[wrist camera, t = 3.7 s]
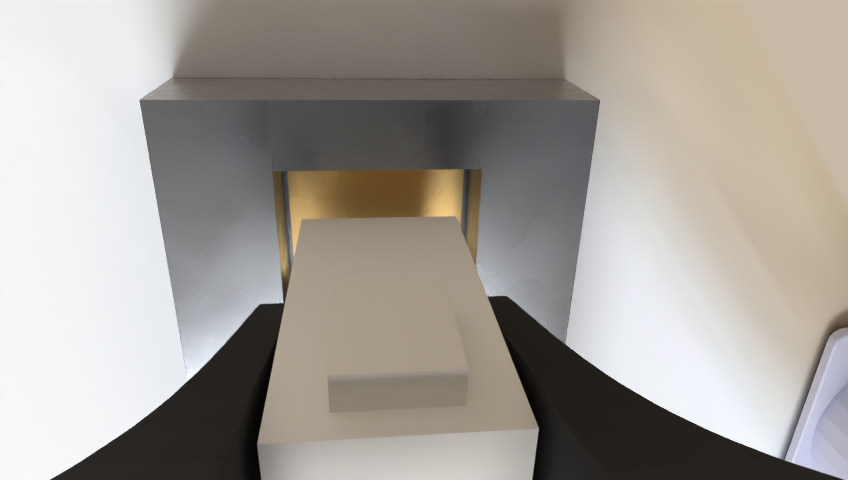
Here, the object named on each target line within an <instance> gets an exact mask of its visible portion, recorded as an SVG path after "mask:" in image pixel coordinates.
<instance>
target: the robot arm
mask: <svg viewBox="0 0 848 480" xmlns="http://www.w3.org/2000/svg"><path fill="white" fill-rule="evenodd" d="M487 297H488V300H489V302H490V305H491V307H492V310H493V312H494V315H495V317H496V320H497V323H498V325H499V328H500V330H501V333H502V335H503V338H504V340H505V343H506V346H507V348H508V351H509V353H510V356H511V358H512V361H513V363H514V366H515V369H516V371H517V374H518V376H519V379H520V381H521V384H522V386H523V389H524V392H525V394H526V397H527V399H528V402H529V404H530V407H531V410H532V412H533V415H534V417H535V420H536V422H537V425H538V427H539V432H538V439H537V447H536V455H535V462H534V470H533V478H532V480H848V328H842V329H839V330H837V331H835V332H834V333H832V334H831V335H830V337H829V339H828V341H827V343H826V346H825V349H824V352H823V355H822V357H821V360H820V363H819V366H818V369H817V371H816V374H815V377H814V380H813V383H812V385H811V388H810V391H809V394H808V396H807V399H806V402H805V405H804V408H803V410H802V413H801V416H800V419H799V422H798V424H797V427H796V430H795V433H794V436H793V438H792V441H791V444H790V447H789V449H788V452H787V455H786V458H785V460H782V459H779V458H776V457H773V456H770V455H768V454H765V453H763V452H760V451H758V450H755V449H753V448H750V447H747V446H745V445H742V444H740V443H737V442H735V441H732V440H730V439H727V438H725V437H723V436H720V435H718V434H716V433H713V432H711V431H709V430H707V429H704V428H702V427H700V426H698V425H696V424H694V423H692V422H690V421H688V420H686V419H684V418H682V417H680V416H678V415H675V414H673V413H671V412H669V411H668V410H666V409H664V408H662V407H660V406H658V405H656V404H654V403H653V402H651V401H649V400H647V399H646V398H644V397H642V396H641V395H639V394H637V393H635V392H634V391H632V390H630V389H629V388H627V387H625V386H624V385H622V384H620V383H619V382H617V381H616V380H614V379H613V378H611V377H609V376H608V375H606V374H605V373H604V372H602V371H601V370H599V369H598V368H596V367H595V366H594V365H592V364H591V363H589V362H588V361H587V360H585V359H584V358H582V357H581V356H580V355H578V354H577V353H576V352H574V351H573V350H572V349H570V348H569V347H568V346H567V345H565V344H564V343H563V342H562V341H560V340H559V339H558V338H557V337H555V336H554V335H553V334H552V333H550V332H549V331H548V330H547V329H546V328H544V327H543V326H542V325H541V324H540V323H539V322H537V321H536V320H535V319H534V318H533V317H532V316H530V315H529V314H528V313H527V312H526V311H525V310H523V309H522V308H521V307H520V306H519V305H518V304H516V303H515V302H514V301H513V300H512V299H510V298H509V297H508V296H487ZM284 305H285V303H271V304H260V305H259V306H258V307H257V308H255V309H254V311H253V312H252V313H251V314H250V315H249V316H248V318H247V319H246V320H245V321H244V322H243V323H242V325H241V326H240V327H239V328H238V329H237V330H236V331H235V333H234V334H233V335H232V336H231V337H230V338H229V339H228V340H227V342H226V343H225V344H224V345H223V346H222V347H221V348H220V349H219V350H218V351H217V352H216V353H215V354H214V355H213V357H212V358H211V359H210V360H209V361H208V362H207V363H206V364H205V365H204V366H203V367H202V368H201V369H200V370H199V371H198V372H197V373H196V374H195V375H194V376H193V377H192V378H190V379H189V380H188V381H187V382H186V383H185V384H184V385H183V386H182V387H181V388H180V389H179V390H178V391H177V392H176V393H175V394H173V395H172V396H171V397H170V398H169V399H168V400H166V401H165V402H164V403H163V404H162V405H160V406H159V407H158V408H157V409H155V410H154V411H153V412H152V413H150V414H149V415H148V416H146V417H145V418H144V419H142V420H141V421H140V422H139V423H137V424H136V425H135V426H133V427H132V428H130V429H129V430H128V431H126V432H125V433H123V434H122V435H120V436H119V437H117V438H116V439H114V440H113V441H111V442H110V443H108V444H107V445H105V446H104V447H102V448H101V449H99V450H98V451H96V452H95V453H93V454H92V455H90V456H89V457H87V458H86V459H84V460H83V461H81V462H79V463H78V464H76V465H75V466H73V467H71V468H70V469H68V470H66V471H64V472H63V473H61V474H59V475H58V476H56V477H54V478H52V479H51V480H261V473H260V465H259V456H258V448H257V442H258V437H259V432H260V427H261V422H262V417H263V412H264V407H265V402H266V397H267V392H268V386H269V381H270V376H271V371H272V366H273V361H274V356H275V351H276V346H277V341H278V336H279V331H280V326H281V321H282V316H283V311H284Z"/></svg>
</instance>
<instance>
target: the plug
mask: <svg viewBox="0 0 848 480" xmlns="http://www.w3.org/2000/svg"><path fill="white" fill-rule="evenodd" d="M538 432H539V427H538V425H537V422H536V420H535V417H534V415H533V412H532V410H531V407H530V404H529V402H528V399H527V397H526V394H525V392H524V389H523V386H522V384H521V381H520V379H519V376H518V374H517V371H516V369H515V366H514V363H513V361H512V358H511V356H510V353H509V351H508V348H507V346H506V343H505V340H504V338H503V335H502V333H501V330H500V328H499V325H498V323H497V320H496V317H495V315H494V312H493V310H492V307H491V305H490V302H489V300H488V297H487V294H486V292H485V289H484V287H483V284H482V282H481V279H480V276H479V274H478V271H477V269H476V266H475V264H474V261H473V259H472V256H471V253H470V251H469V248H468V246H467V243H466V241H465V238H464V236H463V233H462V230H461V228H460V225H459V223H458V220H457V218H456V216H443V217H391V218H339V219H301V224H300V230H299V235H298V240H297V245H296V250H295V255H294V260H293V265H292V270H291V275H290V280H289V285H288V290H287V295H286V300H285V305H284V311H283V316H282V321H281V326H280V331H279V336H278V341H277V346H276V351H275V356H274V361H273V366H272V371H271V376H270V381H269V386H268V392H267V397H266V402H265V407H264V412H263V417H262V422H261V427H260V432H259V437H258V442H257V448H258V456H259V465H260V473H261V480H532V478H533V470H534V462H535V455H536V447H537V439H538Z"/></svg>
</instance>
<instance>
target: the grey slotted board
mask: <svg viewBox="0 0 848 480" xmlns="http://www.w3.org/2000/svg"><path fill="white" fill-rule="evenodd" d="M599 104H600V100H599V99H597V98H595V97H594V96H592V95H590V94H589V93H587V92H585V91H583V90H582V89H580V88H578V87H577V86H575V85H573V84H572V83H570V82H568V81H567V80H477V79H253V78H171V79H170V80H168V81H167V82H165V83H164V84H162V85H161V86H159V87H158V88H156V89H155V90H153V91H152V92H150V93H149V94H147V95H146V96H145V97H143V98H142V99H140V105H141V111H142V117H143V123H144V129H145V135H146V140H147V146H148V152H149V158H150V164H151V169H152V175H153V181H154V187H155V193H156V199H157V204H158V210H159V216H160V222H161V228H162V233H163V239H164V245H165V251H166V257H167V262H168V268H169V274H170V280H171V286H172V292H173V297H174V303H175V309H176V315H177V321H178V326H179V332H180V338H181V344H182V350H183V356H184V361H185V367H186V373H187V379H188V380H189V379H190V378H192V377H193V376H194V375H195V374H196V373H197V372H198V371H199V370H200V369H201V368H202V367H203V366H204V365H205V364H206V363H207V362H208V361H209V360H210V359H211V358H212V357H213V355H214V354H215V353H216V352H217V351H218V350H219V349H220V348H221V347H222V346H223V345H224V344H225V343H226V342H227V340H228V339H229V338H230V337H231V336H232V335H233V334H234V333H235V331H236V330H237V329H238V328H239V327H240V326H241V325H242V323H243V322H244V321H245V320H246V319H247V318H248V316H249V315H250V314H251V313H252V312H253V311H254V309H255V308H257V307H258V306H259V305H260V304H271V303H285V300H286V295H287V290H288V285H289V280H290V275H291V270H292V265H293V260H294V255H295V250H296V245H297V240H298V235H299V230H300V224H301V219H339V218H391V217H443V216H456V218H457V220H458V223H459V225H460V228H461V230H462V233H463V236H464V238H465V241H466V243H467V246H468V248H469V251H470V253H471V256H472V259H473V261H474V264H475V266H476V269H477V271H478V274H479V276H480V279H481V282H482V284H483V287H484V289H485V292H486V294H487V296H508V297H509V298H510V299H512V300H513V301H514V302H515V303H516V304H518V305H519V306H520V307H521V308H522V309H523V310H525V311H526V312H527V313H528V314H529V315H530V316H532V317H533V318H534V319H535V320H536V321H537V322H539V323H540V324H541V325H542V326H543V327H544V328H546V329H547V330H548V331H549V332H550V333H552V334H553V335H554V336H555V337H557V338H558V339H559V340H560V341H562V342H563V343H564V344H565V341H566V334H567V327H568V320H569V313H570V306H571V299H572V292H573V285H574V278H575V271H576V264H577V257H578V250H579V243H580V236H581V229H582V222H583V215H584V209H585V202H586V195H587V188H588V181H589V174H590V167H591V160H592V153H593V146H594V139H595V132H596V125H597V118H598V111H599Z"/></svg>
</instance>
